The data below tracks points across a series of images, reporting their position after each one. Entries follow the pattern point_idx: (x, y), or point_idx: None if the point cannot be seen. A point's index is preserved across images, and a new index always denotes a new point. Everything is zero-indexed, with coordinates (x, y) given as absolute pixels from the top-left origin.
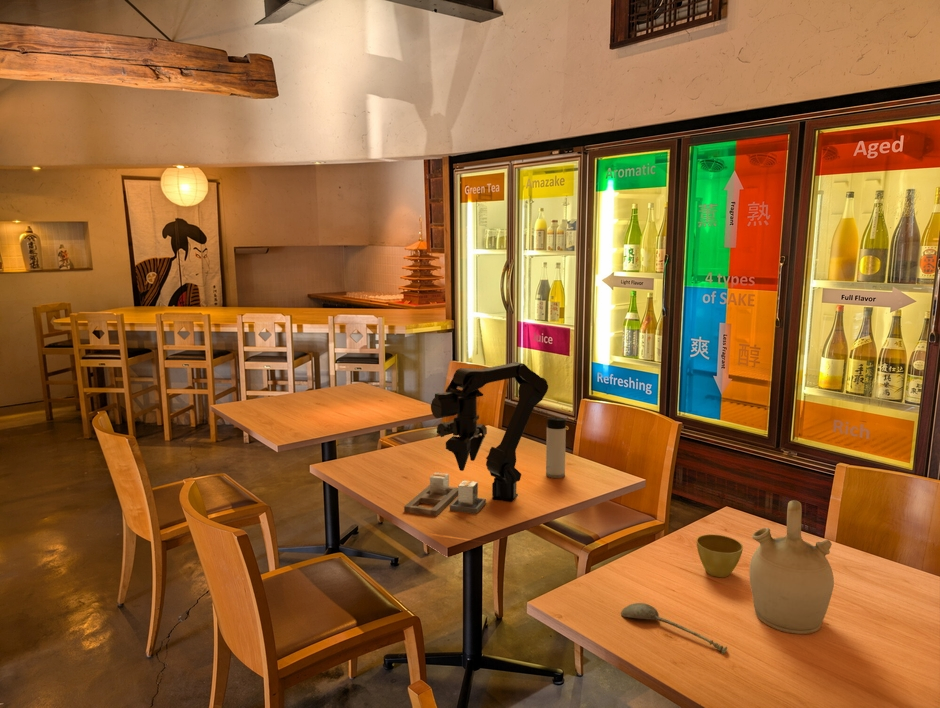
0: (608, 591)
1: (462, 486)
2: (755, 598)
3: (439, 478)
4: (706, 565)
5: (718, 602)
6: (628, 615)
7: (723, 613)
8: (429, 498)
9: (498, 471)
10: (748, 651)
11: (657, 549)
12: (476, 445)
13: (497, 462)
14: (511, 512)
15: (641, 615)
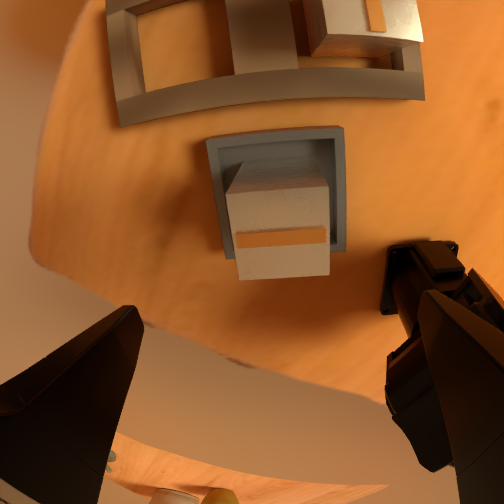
0: (116, 443)
1: (230, 220)
2: (156, 500)
3: (324, 8)
4: (206, 496)
5: (168, 482)
6: None
7: (154, 480)
8: (230, 17)
9: (389, 380)
10: (121, 475)
11: (246, 476)
12: (469, 450)
13: (407, 414)
14: (303, 330)
15: None
